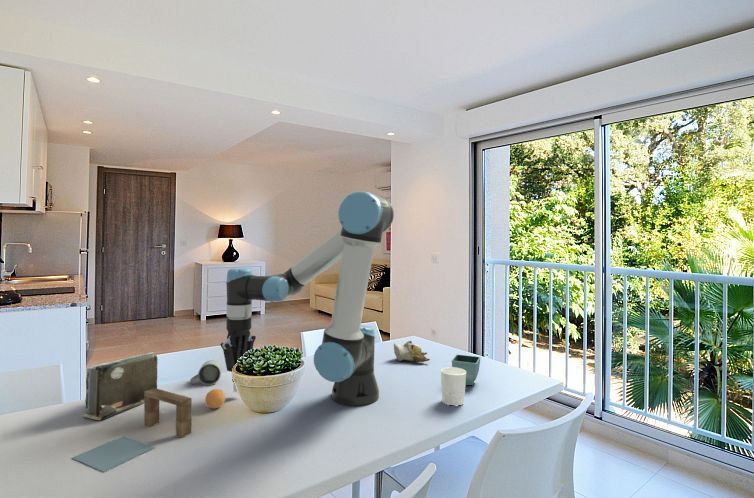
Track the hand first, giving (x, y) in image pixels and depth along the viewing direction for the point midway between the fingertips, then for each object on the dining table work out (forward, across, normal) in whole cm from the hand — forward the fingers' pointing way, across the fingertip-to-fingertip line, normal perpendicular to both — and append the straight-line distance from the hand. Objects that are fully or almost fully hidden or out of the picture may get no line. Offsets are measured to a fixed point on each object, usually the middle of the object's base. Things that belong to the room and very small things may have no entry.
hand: (238, 391), depth 135 cm
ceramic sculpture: (+2, -65, +32) cm, 72 cm away
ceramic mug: (+2, -5, -20) cm, 21 cm away
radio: (+2, +21, -25) cm, 33 cm away
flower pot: (+2, -49, +60) cm, 77 cm away
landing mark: (+2, +39, 0) cm, 39 cm away
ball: (-1, +9, 0) cm, 9 cm away
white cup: (+2, -30, +61) cm, 68 cm away
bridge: (+2, +25, 0) cm, 25 cm away
